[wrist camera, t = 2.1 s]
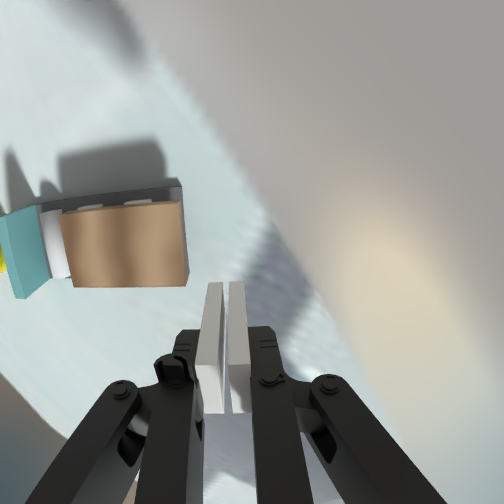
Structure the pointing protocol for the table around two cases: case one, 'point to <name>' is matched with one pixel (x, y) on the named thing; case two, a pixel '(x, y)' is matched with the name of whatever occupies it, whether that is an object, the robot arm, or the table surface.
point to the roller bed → (58, 235)
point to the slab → (126, 245)
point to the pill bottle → (2, 261)
